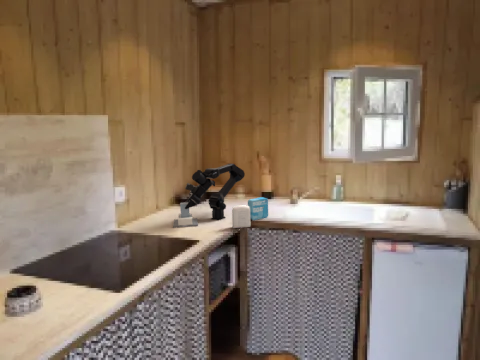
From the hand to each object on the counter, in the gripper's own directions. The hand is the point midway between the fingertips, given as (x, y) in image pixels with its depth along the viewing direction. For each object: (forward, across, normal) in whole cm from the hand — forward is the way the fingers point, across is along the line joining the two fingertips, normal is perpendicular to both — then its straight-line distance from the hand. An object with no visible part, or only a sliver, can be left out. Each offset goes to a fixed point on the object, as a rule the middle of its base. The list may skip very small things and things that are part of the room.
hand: (185, 207), depth 224 cm
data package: (-23, -1, +38) cm, 44 cm away
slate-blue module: (+6, 0, +6) cm, 9 cm away
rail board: (+7, 0, +7) cm, 10 cm away
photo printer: (-15, +15, +29) cm, 36 cm away
